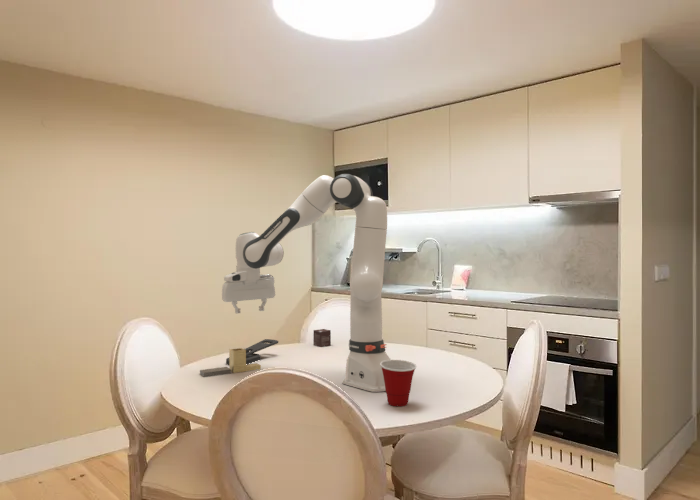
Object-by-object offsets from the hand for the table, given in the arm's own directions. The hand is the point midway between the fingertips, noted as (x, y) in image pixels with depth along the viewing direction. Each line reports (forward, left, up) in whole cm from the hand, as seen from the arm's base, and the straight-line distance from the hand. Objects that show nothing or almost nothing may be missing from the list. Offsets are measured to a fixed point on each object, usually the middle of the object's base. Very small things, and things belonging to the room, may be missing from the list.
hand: (249, 312), depth 199 cm
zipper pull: (+18, -8, -22) cm, 29 cm away
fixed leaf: (+2, +10, -22) cm, 24 cm away
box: (+30, -47, -22) cm, 60 cm away
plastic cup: (-64, -22, -22) cm, 71 cm away
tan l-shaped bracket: (+2, +1, -22) cm, 22 cm away
